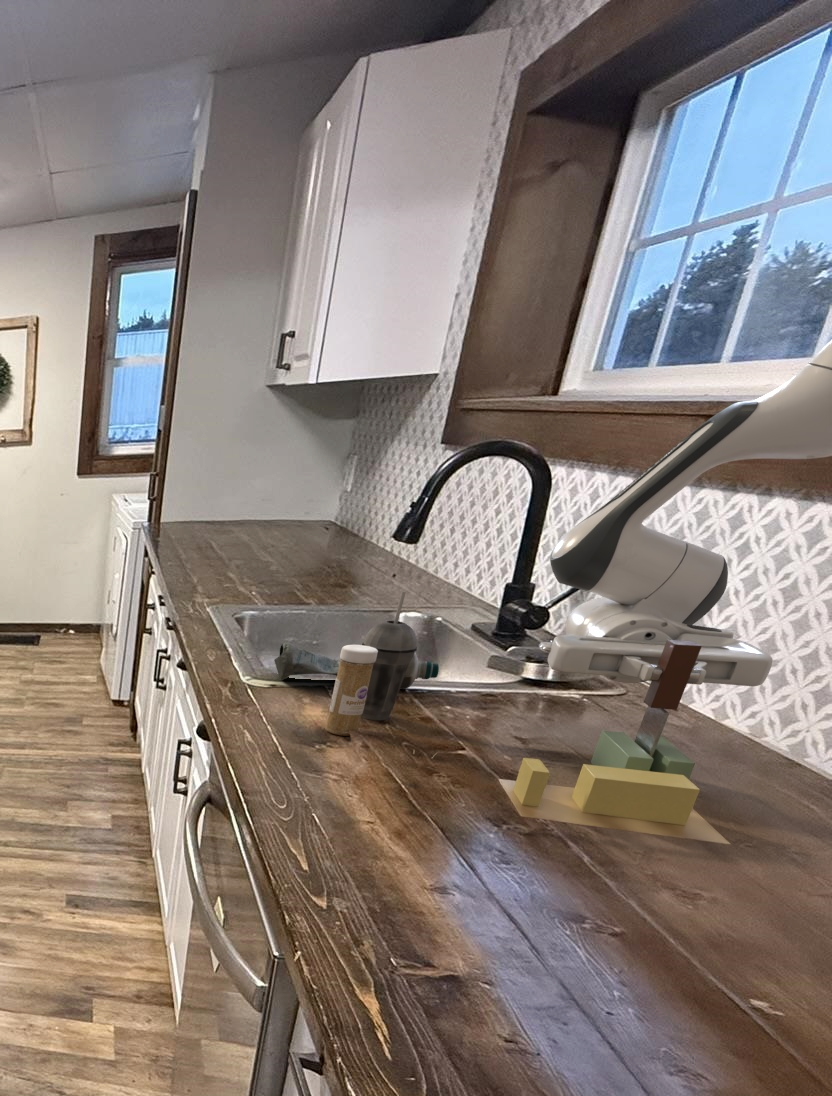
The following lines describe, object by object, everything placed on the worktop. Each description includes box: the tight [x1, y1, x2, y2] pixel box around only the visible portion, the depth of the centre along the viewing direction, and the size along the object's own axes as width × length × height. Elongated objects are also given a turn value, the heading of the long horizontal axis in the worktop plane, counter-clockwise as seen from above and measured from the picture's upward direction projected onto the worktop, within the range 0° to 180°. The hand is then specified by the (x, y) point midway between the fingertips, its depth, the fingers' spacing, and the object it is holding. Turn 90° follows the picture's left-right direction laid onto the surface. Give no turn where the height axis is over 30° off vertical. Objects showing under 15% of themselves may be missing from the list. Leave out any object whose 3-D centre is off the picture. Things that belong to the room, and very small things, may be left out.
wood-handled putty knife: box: [633, 640, 702, 757], centre depth 101 cm, size 2×5×14 cm, turn 153°
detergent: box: [273, 641, 440, 690], centre depth 148 cm, size 13×7×25 cm
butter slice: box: [513, 757, 551, 807], centre depth 100 cm, size 2×4×4 cm, turn 153°
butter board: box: [497, 778, 731, 845], centre depth 98 cm, size 18×12×2 cm, turn 63°
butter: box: [572, 763, 701, 825], centre depth 96 cm, size 9×4×4 cm, turn 63°
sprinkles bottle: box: [324, 644, 378, 737], centre depth 125 cm, size 5×5×13 cm
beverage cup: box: [361, 591, 418, 721], centre depth 130 cm, size 7×7×20 cm
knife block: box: [590, 730, 696, 780], centre depth 104 cm, size 6×10×6 cm, turn 153°
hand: (675, 676), depth 99 cm, fingers closed on wood-handled putty knife, 2 cm apart
